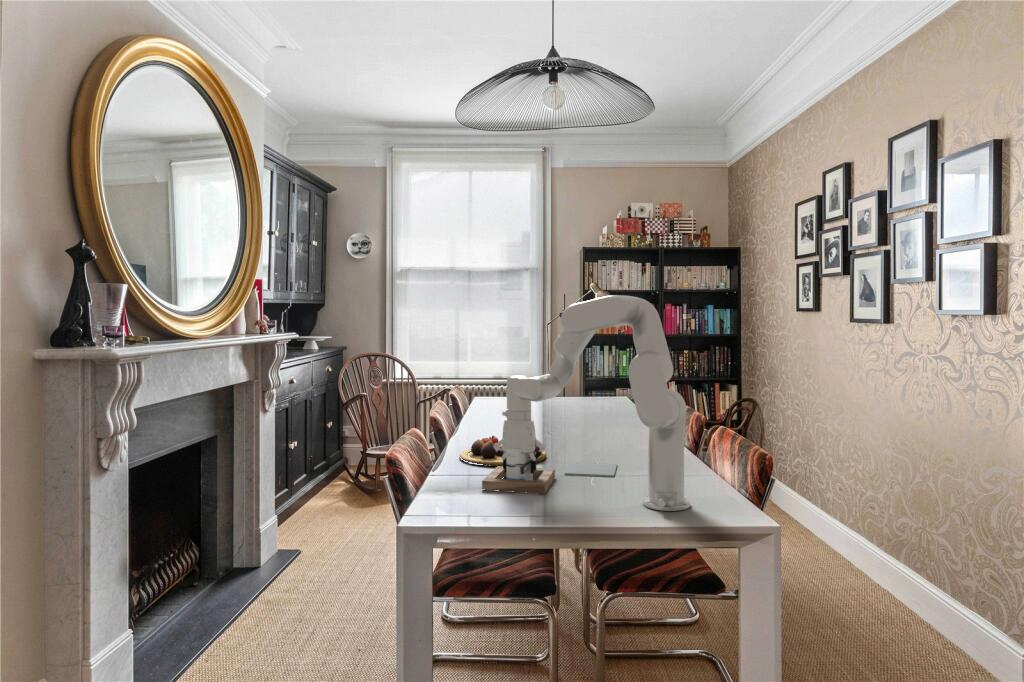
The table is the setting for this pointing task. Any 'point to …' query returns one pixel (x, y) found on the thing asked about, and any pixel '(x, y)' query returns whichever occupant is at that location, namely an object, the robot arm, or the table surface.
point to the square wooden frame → (519, 481)
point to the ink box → (518, 465)
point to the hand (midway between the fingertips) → (519, 471)
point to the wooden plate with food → (489, 452)
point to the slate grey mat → (591, 469)
